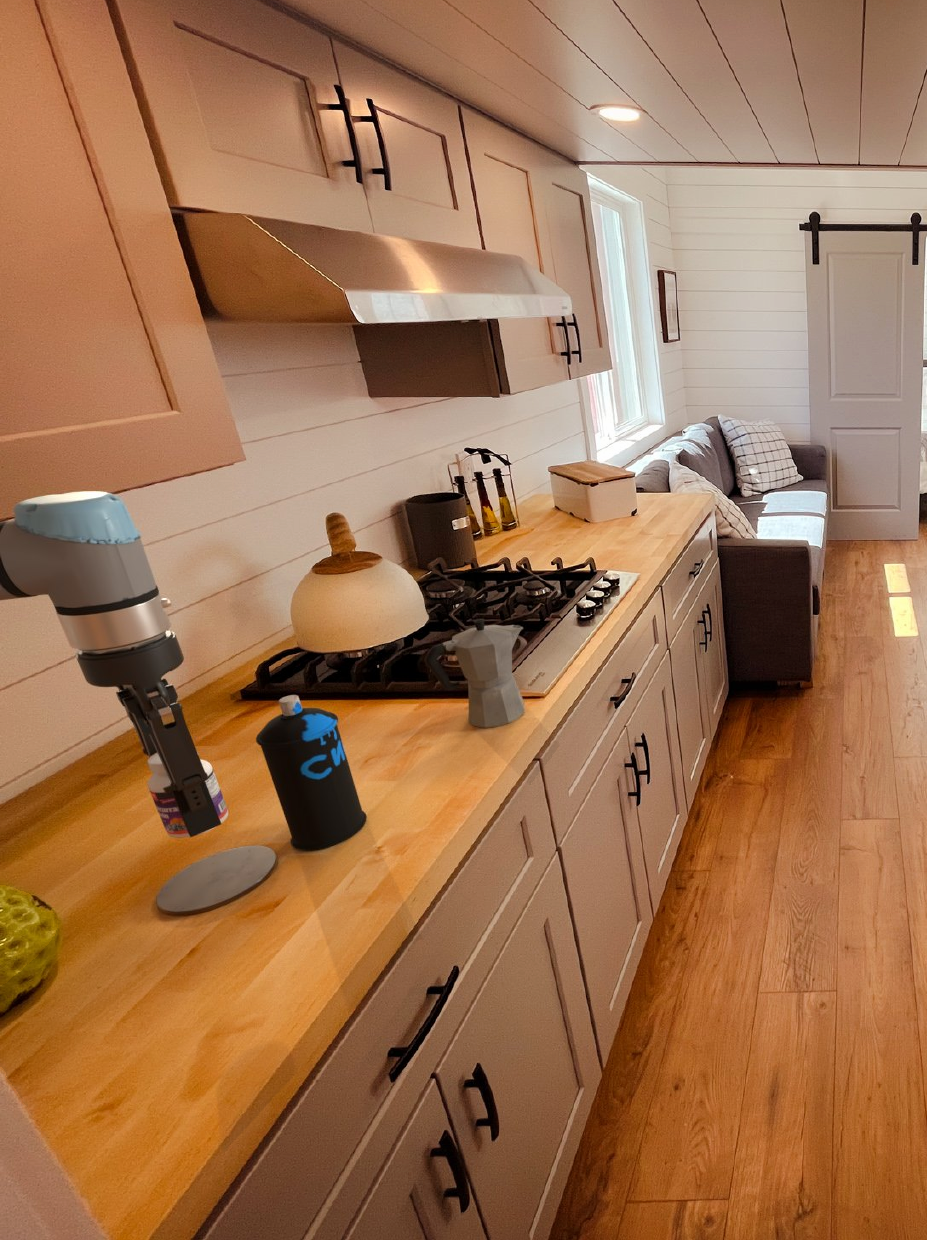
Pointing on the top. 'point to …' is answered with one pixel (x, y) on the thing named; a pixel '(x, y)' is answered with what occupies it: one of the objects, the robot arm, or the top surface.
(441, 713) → the top surface
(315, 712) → the aerosol can
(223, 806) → the pill bottle
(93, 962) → the top surface
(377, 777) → the top surface
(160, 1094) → the top surface
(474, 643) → the coffeepot
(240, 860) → the coaster
